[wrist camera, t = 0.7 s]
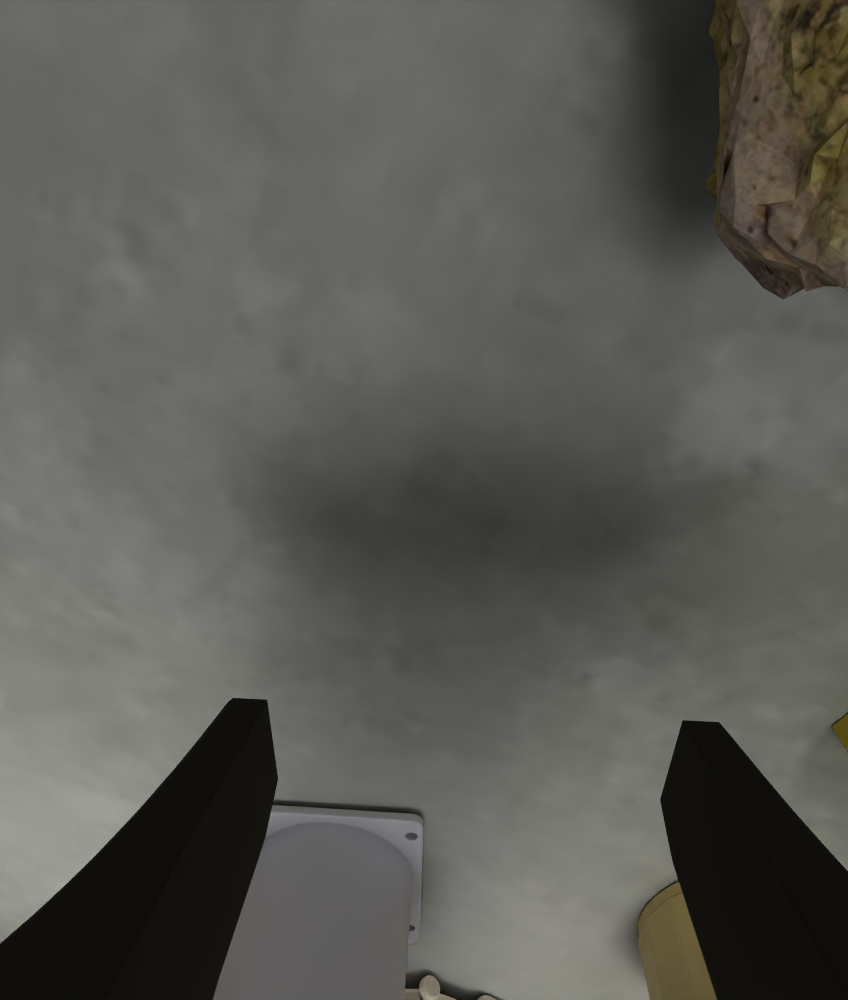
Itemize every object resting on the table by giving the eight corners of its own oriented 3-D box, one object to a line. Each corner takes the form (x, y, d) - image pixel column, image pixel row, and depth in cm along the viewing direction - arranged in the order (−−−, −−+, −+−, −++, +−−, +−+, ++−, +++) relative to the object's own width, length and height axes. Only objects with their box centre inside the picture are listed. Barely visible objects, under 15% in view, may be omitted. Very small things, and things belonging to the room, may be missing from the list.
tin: (810, 984, 33) (869, 1129, 28) (621, 970, 33) (648, 1111, 29) (877, 872, 28) (961, 1021, 24) (657, 858, 29) (696, 1002, 24)
